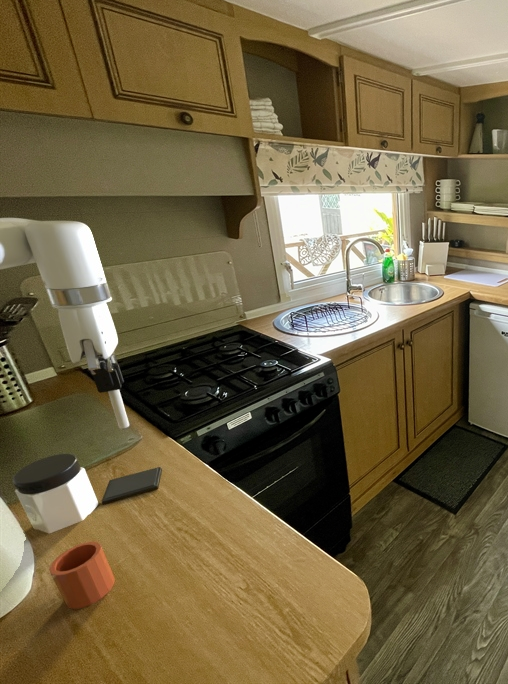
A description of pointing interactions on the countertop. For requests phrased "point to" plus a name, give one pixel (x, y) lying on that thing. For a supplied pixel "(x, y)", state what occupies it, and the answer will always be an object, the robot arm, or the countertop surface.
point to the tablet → (132, 485)
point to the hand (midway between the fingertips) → (111, 387)
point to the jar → (55, 492)
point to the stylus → (118, 408)
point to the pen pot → (82, 574)
